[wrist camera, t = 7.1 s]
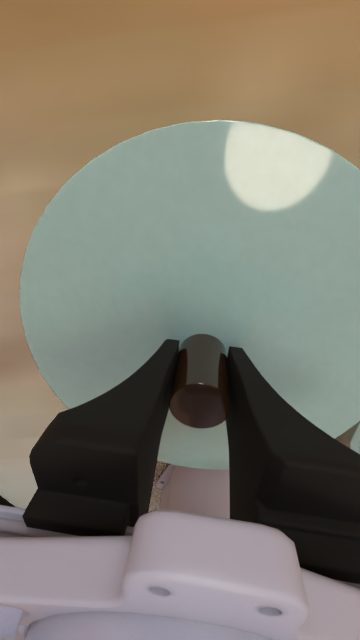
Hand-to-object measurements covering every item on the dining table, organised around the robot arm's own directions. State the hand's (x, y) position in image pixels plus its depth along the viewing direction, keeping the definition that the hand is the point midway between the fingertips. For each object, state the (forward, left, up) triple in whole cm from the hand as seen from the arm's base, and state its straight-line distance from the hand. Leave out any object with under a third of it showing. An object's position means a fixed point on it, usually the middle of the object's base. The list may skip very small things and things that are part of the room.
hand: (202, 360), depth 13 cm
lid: (0, 0, -1) cm, 1 cm away
